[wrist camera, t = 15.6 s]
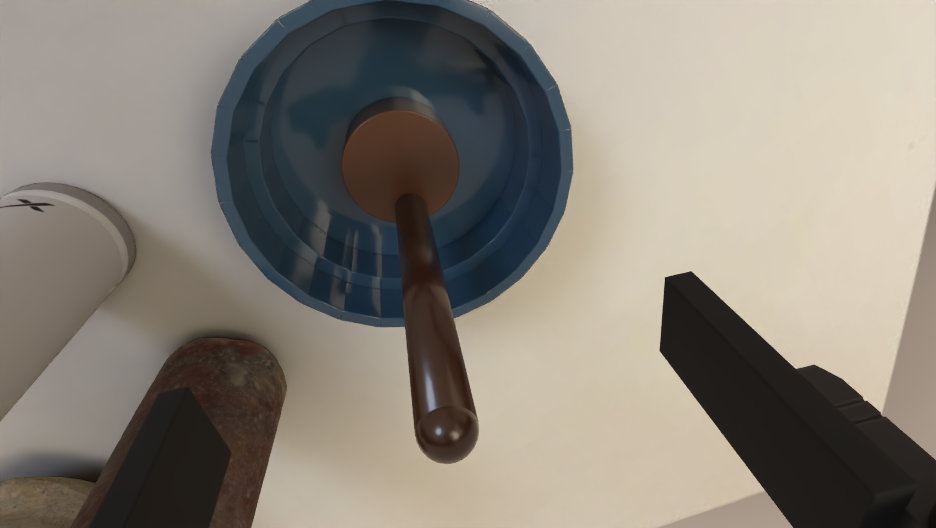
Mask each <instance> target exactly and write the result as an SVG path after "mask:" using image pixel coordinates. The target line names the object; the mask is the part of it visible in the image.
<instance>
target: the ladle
mask: <svg viewBox="0 0 936 528" xmlns="http://www.w3.org/2000/svg"><path fill="white" fill-rule="evenodd" d="M341 170H342V177H343V181H344V184H345V187H346V189H347V191H348V193H349V195H350V196H351V198H352V199H353V200H354V202H355V203H356V204H357V205H358V206H359V207H360V208H361V209H363V210H364V211H365V212H367V213H368V214H370V215H371V216H373V217H376V218H378V219H380V220H383V221H387V222H392V223H396V230H397V241H398V252H399V263H400V274H401V285H402V296H403V307H404V318H405V329H406V340H407V351H408V362H409V373H410V384H411V395H412V406H413V418H414V429H415V436H416V441H417V444H418V446H419V448H420V450H421V451H422V452H423V453H424V454H425V455H426V456H427V457H428V458H429V459H431V460H433V461H435V462H437V463H443V464H451V463H455V462H458V461H460V460H462V459H464V458H465V457H467V456H468V455H469V454H470V452H471V451H472V450H473V449H474V447H475V445H476V442H477V440H478V435H479V425H478V419H477V415H476V410H475V406H474V402H473V398H472V394H471V389H470V385H469V381H468V377H467V373H466V368H465V364H464V360H463V356H462V352H461V347H460V343H459V339H458V335H457V331H456V326H455V322H454V318H453V314H452V310H451V305H450V301H449V297H448V293H447V289H446V284H445V280H444V276H443V272H442V268H441V263H440V259H439V255H438V251H437V247H436V243H435V238H434V234H433V230H432V226H431V222H430V217H429V216H431V215H433V214H434V213H436V212H437V211H438V210H440V209H441V208H442V207H443V206H444V205H445V204H446V203H447V201H448V200H449V199H450V197H451V196H452V194H453V192H454V190H455V188H456V185H457V182H458V178H459V170H460V164H459V156H458V152H457V149H456V146H455V144H454V142H453V140H452V138H451V136H450V134H449V132H448V130H447V128H446V126H445V124H444V123H443V121H442V120H441V118H440V117H439V116H438V115H437V114H436V113H435V112H434V111H433V110H432V109H430V108H429V107H428V106H426V105H424V104H423V103H421V102H418V101H416V100H413V99H409V98H403V97H391V98H385V99H381V100H378V101H376V102H373V103H371V104H370V105H368V106H366V107H365V108H364V109H363V110H361V111H360V112H359V113H358V114H357V116H356V117H355V118H354V120H353V121H352V123H351V125H350V126H349V128H348V131H347V134H346V139H345V144H344V149H343V155H342V162H341Z"/></svg>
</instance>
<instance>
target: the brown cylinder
mask: <svg viewBox="0 0 936 528" xmlns="http://www.w3.org/2000/svg"><path fill="white" fill-rule="evenodd" d="M184 387H189V388H190V390H191V391H192V393H193V394H194V396H195V397H196V399H197V400H198V402H199V403H200V405H201V406H202V408H203V409H204V411H205V412H206V414H207V416H208V417H209V419H210V420H211V422H212V423H213V425H214V426H215V428H216V429H217V431H218V432H219V434H220V435H221V437H222V438H223V440H224V441H225V443H226V444H227V446H228V447H229V449H230V450H231V452H232V454H231V458H230V461H229V464H228V467H227V471H226V474H225V477H224V481H223V484H222V487H221V490H220V494H219V497H218V500H217V504H216V507H215V510H214V513H213V517H212V520H211V523H210V527H209V528H251V526H252V522H253V519H254V515H255V511H256V507H257V503H258V499H259V495H260V491H261V488H262V484H263V480H264V476H265V473H266V469H267V465H268V461H269V457H270V453H271V450H272V446H273V442H274V439H275V435H276V431H277V427H278V423H279V419H280V415H281V411H282V406H283V403H284V399H285V395H286V390H287V385H286V381H285V376H284V373H283V371H282V369H281V367H280V365H279V364H278V361H277V360H276V358H275V357H274V356H273V355H272V354H271V353H270V352H269V351H268V350H267V349H266V348H264V347H261V346H259V345H257V344H255V343H253V342H250V341H241V340H233V339H228V338H203V339H196V340H194V341H192V342H189V343H188V344H187V345H185V346H182V347H180V348H179V349H178V350H177V351H175V352H174V353H173V354H172V355H171V356H170V357H169V358H168V359H167V360H166V362H165V363H164V365H163V367H162V368H161V370H160V371H159V373H158V375H157V376H156V378H155V380H154V382H153V383H152V385H151V386H150V388H149V390H148V392H147V393H146V395H145V397H144V398H143V400H142V402H141V403H140V405H139V407H138V408H137V410H136V412H135V414H134V416H133V418H132V419H131V421H130V423H129V425H128V426H127V428H126V430H125V431H124V433H123V435H122V437H121V439H120V441H119V442H118V444H117V446H116V447H115V449H114V451H113V453H112V454H111V456H110V458H109V460H108V462H107V464H106V465H105V467H104V469H103V471H102V473H101V475H100V477H99V479H98V480H97V482H96V484H95V485H94V487H93V488H92V490H91V492H90V493H89V495H88V497H87V499H86V500H85V502H84V504H83V506H82V507H81V509H80V511H79V512H78V514H77V516H76V518H75V519H74V521H73V523H72V525H71V527H70V528H89V526H90V524H91V522H92V520H93V518H94V516H95V514H96V513H97V511H98V509H99V507H100V505H101V503H102V501H103V499H104V497H105V495H106V493H107V492H108V490H109V488H110V486H111V484H112V482H113V480H114V478H115V476H116V474H117V472H118V470H119V469H120V467H121V465H122V463H123V461H124V459H125V457H126V455H127V453H128V451H129V449H130V448H131V446H132V444H133V442H134V440H135V438H136V436H137V434H138V432H139V430H140V428H141V427H142V425H143V423H144V421H145V419H146V417H147V415H148V413H149V411H150V409H151V407H152V406H153V404H154V402H155V400H156V398H157V396H158V394H159V393H163V392H167V391H171V390H176V389H180V388H184Z"/></svg>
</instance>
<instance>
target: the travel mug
mask: <svg viewBox="0 0 936 528" xmlns="http://www.w3.org/2000/svg"><path fill="white" fill-rule="evenodd" d="M135 253H136V247H135V241H134V238H133V235H132V233H131V230H130V228H129V227H128V225H127V224H126V222H125V221H124V219H123V218H122V217H121V216H120V215H119V214H118V212H117V211H116V210H115V209H113V208H112V207H111V206H110V205H108V204H107V203H106V202H105V201H103V200H101V199H100V198H98V197H96V196H95V195H93V194H91V193H88V192H86V191H84V190H81V189H79V188H76V187H72V186H68V185H64V184H56V183H34V184H30V185H26V186H22V187H20V188H18V189H16V190H14V191H12V192H10V193H8V194H6V195H5V196H3V197H1V198H0V421H1V420H2V419H3V418H4V416H5V415H6V414H7V413H8V412H9V411H10V409H11V408H12V407H13V406H14V405H15V404H16V402H17V401H18V400H19V399H20V398H21V397H22V396H23V394H24V393H25V392H26V391H27V390H28V389H29V387H30V386H31V385H32V384H33V383H34V382H35V380H36V379H37V378H38V377H39V376H40V375H41V373H42V372H43V371H44V370H45V369H46V368H47V366H48V365H49V364H50V363H51V362H52V361H53V359H54V358H55V357H56V356H57V355H58V354H59V352H60V351H61V350H62V349H63V348H64V347H65V346H66V344H67V343H68V342H69V341H70V340H71V339H72V337H73V336H74V335H75V334H76V333H77V332H78V330H79V329H80V328H81V327H82V326H83V325H84V323H85V322H86V321H87V320H88V319H89V318H90V316H91V315H92V314H93V313H94V312H95V311H96V309H97V308H98V307H99V306H100V305H101V304H102V302H103V301H104V300H105V299H106V298H107V297H108V295H109V294H110V293H111V292H112V291H113V289H114V288H115V287H116V286H117V285H118V284H119V283H120V282H121V280H122V279H123V278H124V277H125V276H126V274H127V273H128V272H129V271H130V269H131V268H132V265H133V263H134V260H135Z"/></svg>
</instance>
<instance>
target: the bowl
mask: <svg viewBox="0 0 936 528" xmlns="http://www.w3.org/2000/svg"><path fill="white" fill-rule="evenodd" d="M95 484H96V483H93V482H89V481H85V480H79V479H73V478H64V477H27V478H15V479H10V480H6V481H3V482H0V528H70V527H71V525H72V523H73V521H74V519H75V518H76V516H77V514H78V512H79V511H80V509H81V507H82V506H83V504H84V502H85V500H86V499H87V497H88V495H89V493H90V492H91V490H92V488H93V487H94V485H95Z"/></svg>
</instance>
